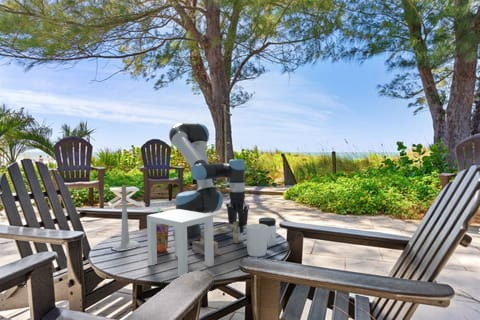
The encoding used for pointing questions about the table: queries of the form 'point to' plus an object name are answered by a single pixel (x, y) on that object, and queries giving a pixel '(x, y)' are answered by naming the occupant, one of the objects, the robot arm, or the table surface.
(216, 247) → the block
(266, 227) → the candle holder
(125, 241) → the candlestick
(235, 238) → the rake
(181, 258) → the stool
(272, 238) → the jar
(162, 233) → the smoothie
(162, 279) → the table surface
